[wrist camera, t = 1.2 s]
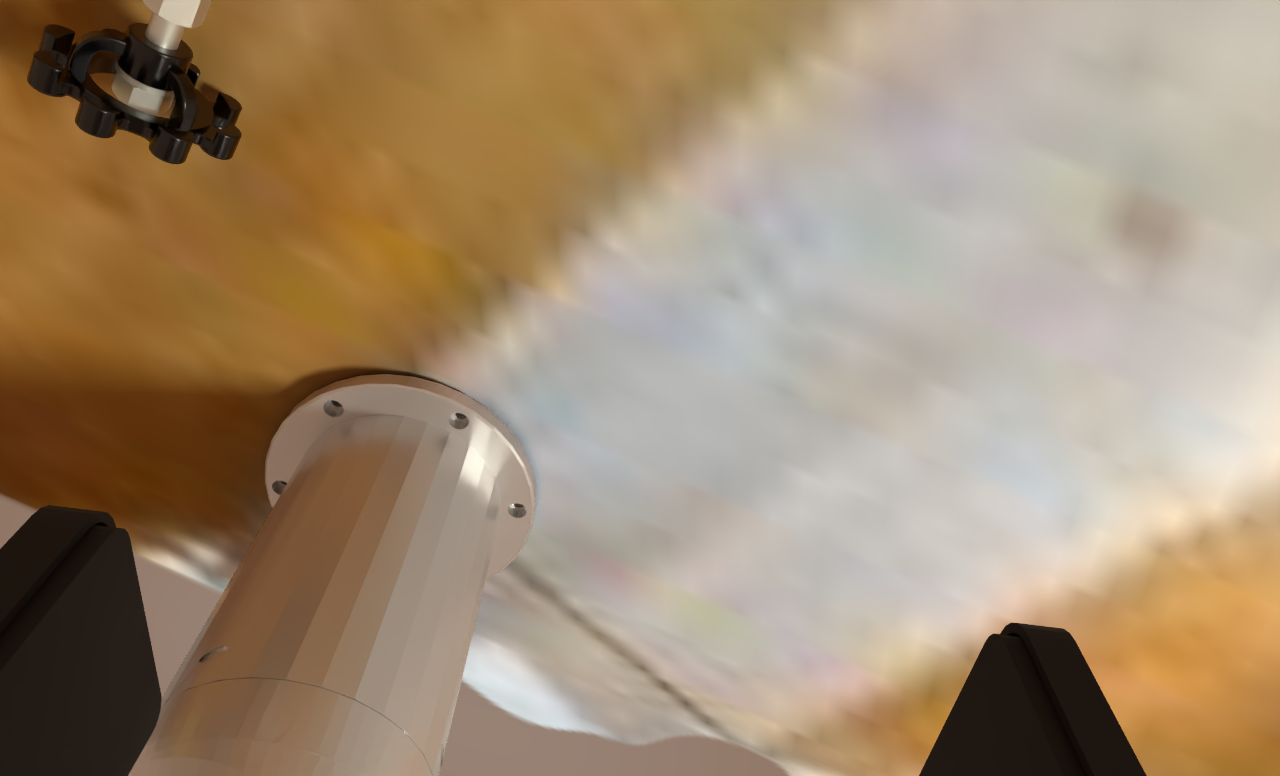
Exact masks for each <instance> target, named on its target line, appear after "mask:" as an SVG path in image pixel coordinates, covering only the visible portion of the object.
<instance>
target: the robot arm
mask: <svg viewBox="0 0 1280 776" xmlns="http://www.w3.org/2000/svg"><path fill="white" fill-rule="evenodd" d="M265 485H266V490H267V495H268V500H269V502H270V504H271V507H272V510H271V512H270V514H269V516H268V517H267V519H266V521H265V522H264V524H263V526H262V527H261V529H260V531H259V533H258V534H257V536H256V538H255V539H254V541H253V543H252V545H251V546H250V548H249V550H248V551H247V553H246V555H245V556H244V558H243V560H242V562H241V563H240V565H239V567H238V568H237V570H236V572H235V574H234V575H233V577H232V579H231V580H230V582H229V584H228V585H227V587H226V589H225V591H224V592H223V594H222V596H221V598H220V599H219V601H218V603H217V604H216V606H215V608H214V609H213V611H212V613H211V615H210V616H209V618H208V620H207V621H206V623H205V625H204V626H203V628H202V630H201V632H200V633H199V635H198V637H197V638H196V640H195V642H194V644H193V645H192V647H191V649H190V650H189V652H188V654H187V655H186V657H185V659H184V661H183V662H182V664H181V666H180V667H179V669H178V671H177V673H176V674H175V676H174V678H173V679H172V681H171V683H170V685H169V686H168V688H167V690H166V691H165V693H164V695H163V696H162V698H161V692H160V687H159V682H158V677H157V672H156V667H155V662H154V657H153V651H152V646H151V641H150V637H149V632H148V627H147V621H146V616H145V612H144V606H143V602H142V596H141V592H140V587H139V582H138V576H137V572H136V566H135V561H134V556H133V551H132V546H131V541H130V537H129V534H128V532H127V531H126V530H125V529H122V528H116V526H115V523H114V520H113V518H112V517H111V516H110V515H109V514H108V513H105V512H100V511H91V510H83V509H75V508H67V507H58V506H50V505H48V506H46V507H43V508H40V509H39V510H38V511H37V512H35V513H34V514H33V515H32V516H31V517H30V518H29V519H28V520H27V522H25V524H24V525H23V526H22V527H21V528H20V529H19V530H18V531H17V532H16V533H15V534H14V535H13V536H12V537H11V538H10V539H9V540H8V541H7V543H6V544H5V545H4V546H3V547H2V548H1V549H0V776H439V773H440V769H441V766H442V761H443V757H444V752H445V748H446V744H447V739H448V735H449V731H450V727H451V723H452V719H453V714H454V710H455V706H456V701H457V697H458V693H459V689H460V684H461V680H462V676H463V672H464V667H465V663H466V659H467V655H468V651H469V646H470V642H471V638H472V634H473V630H474V625H475V621H476V617H477V613H478V609H479V605H480V600H481V596H482V592H483V588H484V584H485V581H486V580H488V579H490V578H491V577H493V576H495V575H496V574H498V573H500V572H501V571H502V570H503V569H504V568H505V567H506V566H507V565H509V564H510V563H511V562H512V561H513V560H514V559H515V558H516V556H517V555H518V553H519V552H520V550H521V549H522V548H523V546H524V545H525V543H526V541H527V538H528V535H529V533H530V530H531V528H532V525H533V519H534V514H535V508H536V483H535V479H534V475H533V471H532V467H531V464H530V462H529V460H528V458H527V456H526V454H525V452H524V450H523V447H522V445H521V444H520V443H519V441H518V440H517V439H516V437H515V436H514V435H513V434H512V432H511V431H510V430H509V428H508V427H507V426H506V425H505V424H504V423H503V422H502V421H501V420H500V419H498V418H497V417H496V416H495V415H494V414H493V413H492V412H491V411H490V410H489V409H487V408H486V407H484V406H482V405H481V404H479V403H478V402H476V401H475V400H473V399H472V398H470V397H468V396H467V395H465V394H463V393H461V392H458V391H456V390H454V389H451V388H449V387H447V386H445V385H442V384H440V383H436V382H432V381H428V380H424V379H421V378H417V377H411V376H402V375H392V374H379V375H363V376H357V377H353V378H349V379H344V380H340V381H336V382H334V383H332V384H329V385H327V386H325V387H323V388H321V389H319V390H316V391H314V392H313V393H311V394H310V395H309V396H308V397H306V398H305V399H304V400H302V401H301V402H300V403H298V404H297V405H296V406H295V407H294V408H293V410H292V411H291V412H290V413H289V414H288V416H287V417H286V418H285V419H284V421H283V422H282V424H281V425H280V427H279V429H278V430H277V432H276V434H275V435H274V437H273V439H272V440H271V443H270V446H269V450H268V453H267V456H266V460H265ZM919 776H1146V774H1145V772H1144V770H1143V768H1142V766H1141V765H1140V763H1139V761H1138V759H1137V757H1136V755H1135V753H1134V751H1133V749H1132V748H1131V746H1130V744H1129V742H1128V740H1127V738H1126V736H1125V734H1124V732H1123V731H1122V729H1121V727H1120V725H1119V723H1118V721H1117V719H1116V717H1115V715H1114V713H1113V712H1112V710H1111V708H1110V706H1109V704H1108V702H1107V700H1106V698H1105V696H1104V695H1103V693H1102V691H1101V689H1100V687H1099V685H1098V683H1097V681H1096V679H1095V677H1094V676H1093V674H1092V672H1091V670H1090V668H1089V666H1088V664H1087V662H1086V660H1085V659H1084V657H1083V655H1082V653H1081V651H1080V649H1079V647H1078V645H1077V643H1076V642H1075V640H1074V639H1073V637H1072V636H1071V634H1070V633H1069V632H1067V631H1066V630H1064V629H1061V628H1053V627H1045V626H1036V625H1028V624H1020V623H1010V624H1008V625H1007V626H1005V628H1004V629H1003V631H1002V632H1001V634H992V635H990V636H989V637H988V639H987V640H986V642H985V644H984V646H983V648H982V650H981V652H980V654H979V656H978V658H977V660H976V662H975V664H974V666H973V668H972V670H971V672H970V674H969V676H968V678H967V680H966V682H965V684H964V686H963V688H962V690H961V692H960V694H959V696H958V698H957V700H956V702H955V704H954V706H953V708H952V710H951V712H950V714H949V716H948V718H947V720H946V722H945V724H944V726H943V728H942V730H941V732H940V734H939V736H938V739H937V741H936V743H935V745H934V747H933V749H932V751H931V753H930V755H929V757H928V759H927V761H926V763H925V765H924V767H923V769H922V771H921V773H920V775H919Z"/></svg>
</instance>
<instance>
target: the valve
mask: <svg viewBox="0 0 1280 776" xmlns="http://www.w3.org/2000/svg"><path fill="white" fill-rule="evenodd" d="M142 1H143V2H144V4H145V5H146V6H147V7H148V8H149V9H150V10H151V11H152V15H151V18H150V21H149V24H143V23H134V24H131V25H129V27H128V29H127V32H126V34H125V33H123V32H120V31H118V30H114V29H103V30H102V31H101V30H100V31H93V32H89V33H87V34H85V35H83V36H81V37H80V38H79V39H78V40H77V41H76V42H75V44H74V45H73V44H72V41H73V38H74V35H75V32H74V31H72V30H70V29H68V28H66V27H63V26H59V25H54V24H50V25H46V26H45V28H44V31H43V35H42V38H41V42H40V45H39V49H38V51H36V52H35V53H34V55H33V58H32V62H31V65H30V69H29V72H28V76H27V81H28V83H29V84H30V85H31V86H32V87H33V88H34V89H36V90H37V91H39V92H41V93H43V94H46V95H49V96H53V97H63V96H66V95H67V96H70V97H72V98H74V99H76V100H78V101H79V102H80V105H79V108H78V111H77V114H76V117H75V123H76V124H77V126H78V127H79V128H80V129H81V130H83V131H84V132H86V133H88V134H90V135H92V136H95V137H100V138H110V137H113V136H114V135H115V133H116V131H117V130H125V131H128V132H131V133H134V134H136V135H139V136H141V137H143V138H145V139H147V140H148V141H149V142H150V144H149V150H150V151H151V153H152V154H153V155H154V156H156V157H157V158H159V159H160V160H162V161H165V162H168V163H171V164H181V163H184V162H185V161H186V158H187V156H188V153H189V151H190V148H191V146H192V143H194V144H197V145H199V146H200V147H201V149H202V150H203V151H204V152H206V153H207V154H208V155H210V156H212V157H215V158H217V159H222V160H228V159H231V158H232V157H233V155H234V152H235V150H236V148H237V145H238V143H239V140H240V138H241V132H240V130H239V129H238V128H237V127H236V126H235V124H236V122H237V119H238V117H239V114H240V112H241V110H242V107H241V104H240V103H239V102H238V101H237V100H236V99H234V98H233V97H231V96H229V95H227V94H224V93H221V92H220V93H219V94H218V97H217V99H216V102H208V101H207V99H206V98H205V97H204V96H203V95H202V94H201V93H200V92H199V91H198V90H197V89H195V85H196V83H197V80H198V78H199V75H200V70H199V69H198V67H197V66H195V65H194V64H192V63H191V61H192V58H193V52H192V50H191V49H190V47H189V46H188V45H187V44H186V43H185V42H184V41H182V40H181V38H182V35H183V32H184V30H185V27H187V28H196V27H198V26H200V25H201V24H203V23H204V21H205V18H206V15H207V13H208V10H209V7H210V5H211V2H212V0H142ZM95 73H111V74H116V76H115V79H114V82H113V85H112V88H111V89H112V91H113V93H114V94H115V95H116V97H117V98H118V99H119V100H120V101H122V102H123V103H122V102H120V101H118V100H117V99H115V98H114V97H112V96H110V95H109V94H107V93H106V92H105V91H103V90H102V89H101V88H100V87H99V86H98V85H97V84H96V83H95V82H94V81H93V80H92V78H91V76H90V75H91V74H95ZM173 99H174V100H175V104H174V108H173V110H172V113H171V116H170V118H169V119H168V118H163V117H157V116H154V115H161V114H163V113H165V112H166V111H167V110H169V109H170V107H171V104H172V101H173ZM150 114H152V115H150Z"/></svg>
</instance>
